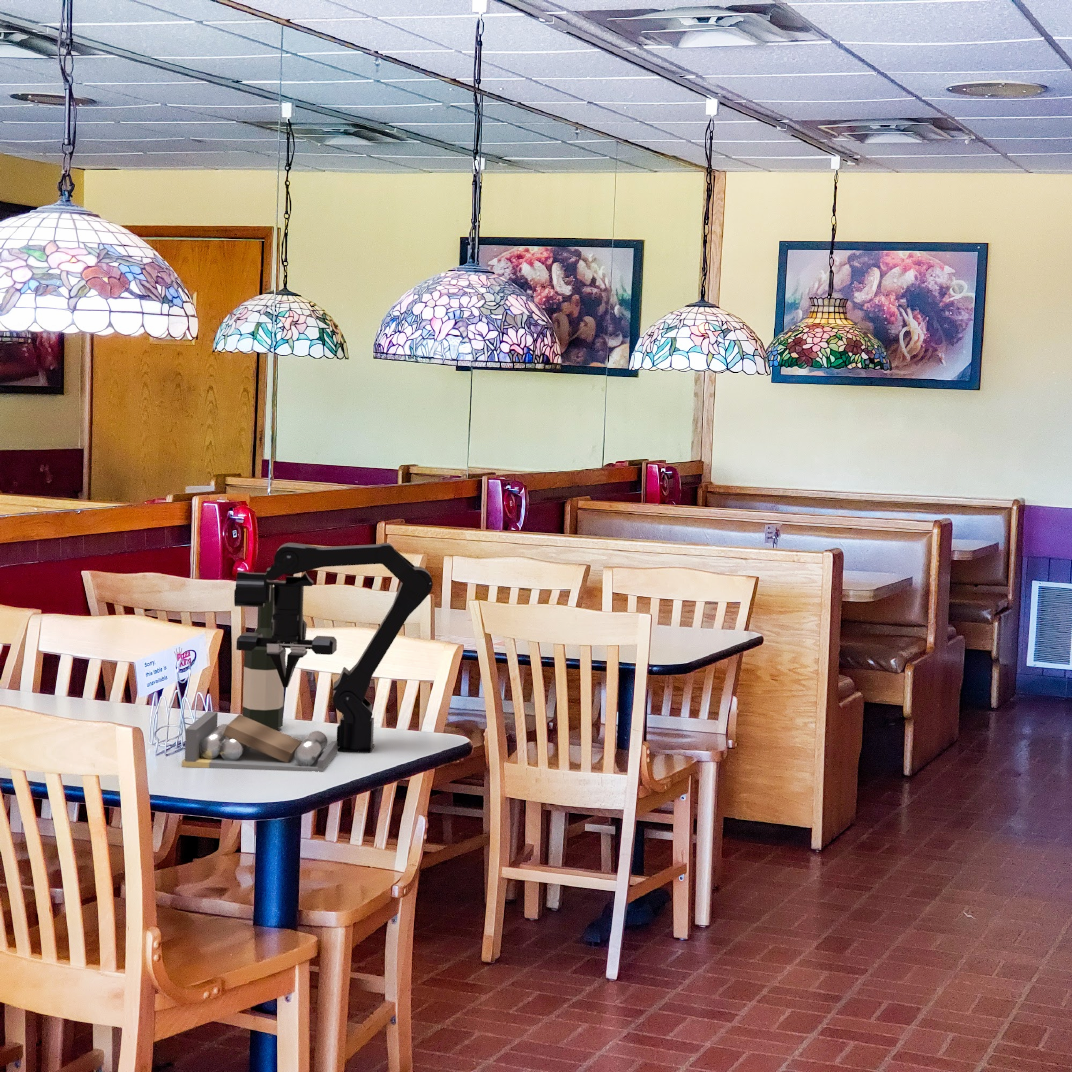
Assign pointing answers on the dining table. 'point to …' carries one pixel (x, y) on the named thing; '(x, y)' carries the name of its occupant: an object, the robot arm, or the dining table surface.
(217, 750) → the roller
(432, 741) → the dining table surface
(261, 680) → the wine bottle
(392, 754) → the dining table surface
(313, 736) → the roller
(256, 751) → the track board
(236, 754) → the roller
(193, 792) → the dining table surface
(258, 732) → the slab
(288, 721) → the dining table surface
